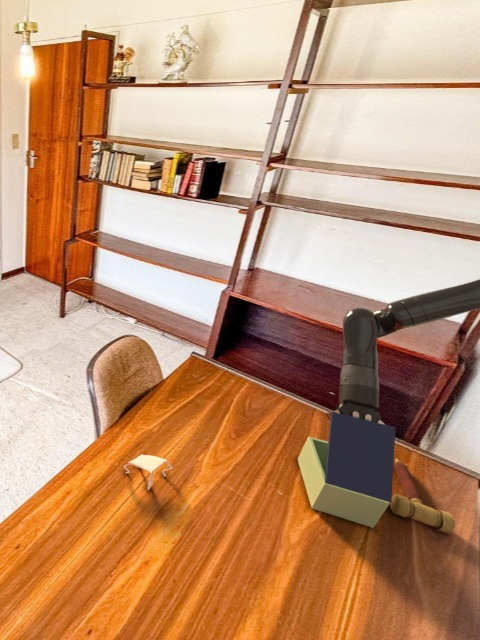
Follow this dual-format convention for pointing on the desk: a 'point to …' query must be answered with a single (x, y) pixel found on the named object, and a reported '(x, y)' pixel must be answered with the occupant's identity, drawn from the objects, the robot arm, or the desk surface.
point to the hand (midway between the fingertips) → (356, 458)
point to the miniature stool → (148, 465)
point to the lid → (360, 456)
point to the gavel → (418, 504)
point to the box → (335, 489)
